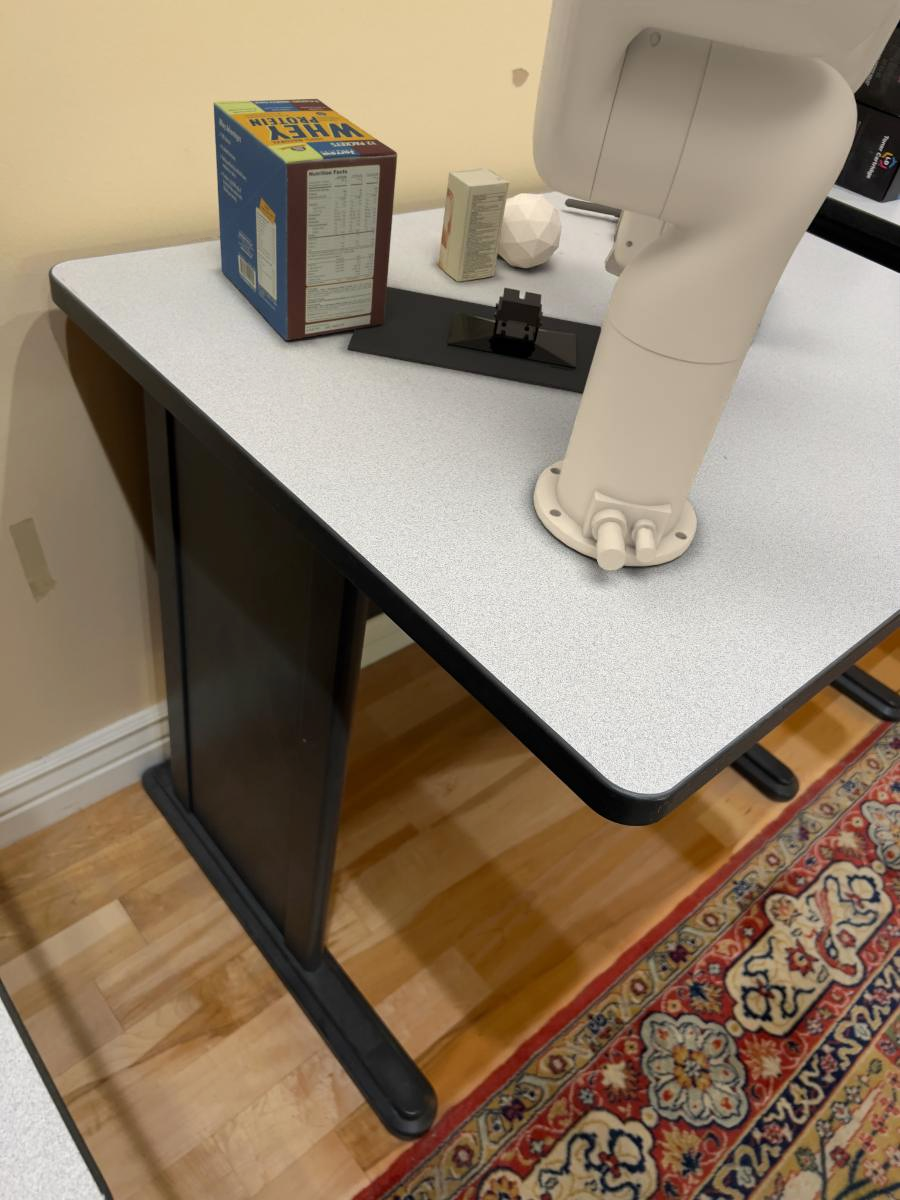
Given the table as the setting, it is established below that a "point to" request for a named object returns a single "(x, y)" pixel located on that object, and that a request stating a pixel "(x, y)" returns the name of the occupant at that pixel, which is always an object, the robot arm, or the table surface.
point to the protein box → (304, 214)
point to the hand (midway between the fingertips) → (641, 339)
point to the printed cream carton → (472, 223)
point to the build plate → (514, 333)
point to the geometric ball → (529, 230)
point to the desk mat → (422, 337)
